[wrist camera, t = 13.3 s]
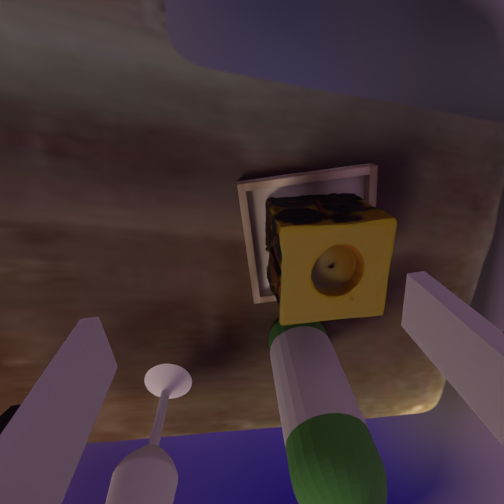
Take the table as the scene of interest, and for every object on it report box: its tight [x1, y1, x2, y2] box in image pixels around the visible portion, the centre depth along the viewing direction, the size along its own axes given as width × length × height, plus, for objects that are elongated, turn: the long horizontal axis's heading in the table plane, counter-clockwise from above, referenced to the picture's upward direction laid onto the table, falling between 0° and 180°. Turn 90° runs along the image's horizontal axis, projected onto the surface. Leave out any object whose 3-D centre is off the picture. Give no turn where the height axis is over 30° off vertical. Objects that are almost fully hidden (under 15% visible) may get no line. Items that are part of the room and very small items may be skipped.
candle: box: [265, 193, 397, 326], centre depth 32 cm, size 10×10×10 cm
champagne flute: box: [106, 364, 192, 504], centre depth 33 cm, size 7×7×24 cm
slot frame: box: [237, 163, 378, 304], centre depth 36 cm, size 15×15×2 cm
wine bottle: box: [268, 320, 387, 504], centre depth 29 cm, size 8×8×30 cm
